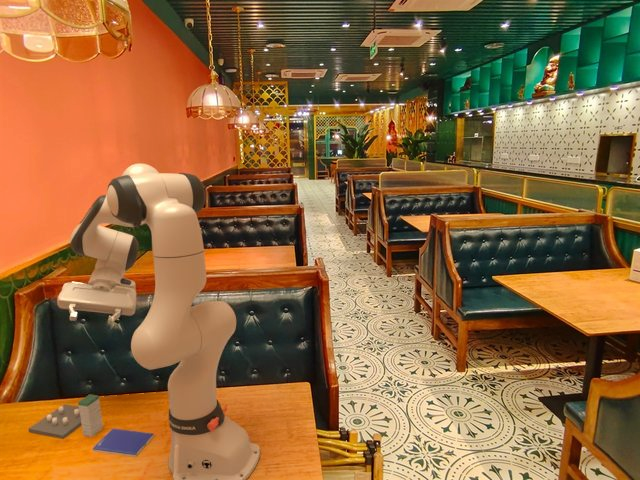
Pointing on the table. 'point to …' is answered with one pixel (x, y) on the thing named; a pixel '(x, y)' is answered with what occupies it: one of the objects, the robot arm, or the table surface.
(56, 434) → the dock
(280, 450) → the table surface
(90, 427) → the block
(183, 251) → the robot arm
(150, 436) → the hard drive
